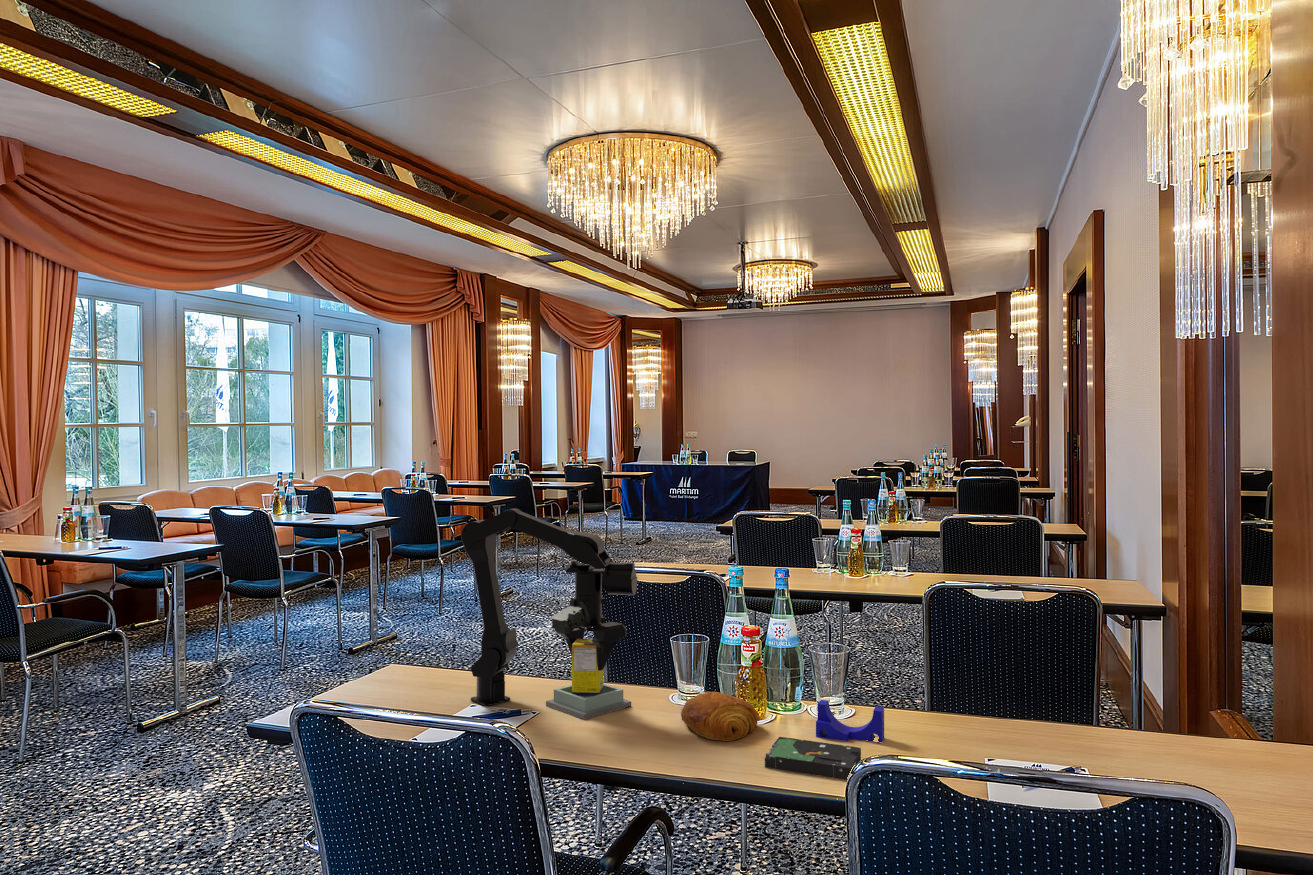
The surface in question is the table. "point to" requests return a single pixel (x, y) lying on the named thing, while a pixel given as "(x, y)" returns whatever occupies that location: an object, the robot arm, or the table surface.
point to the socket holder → (588, 702)
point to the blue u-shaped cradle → (836, 730)
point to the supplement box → (586, 669)
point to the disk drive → (812, 757)
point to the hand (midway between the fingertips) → (587, 666)
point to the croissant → (719, 716)
